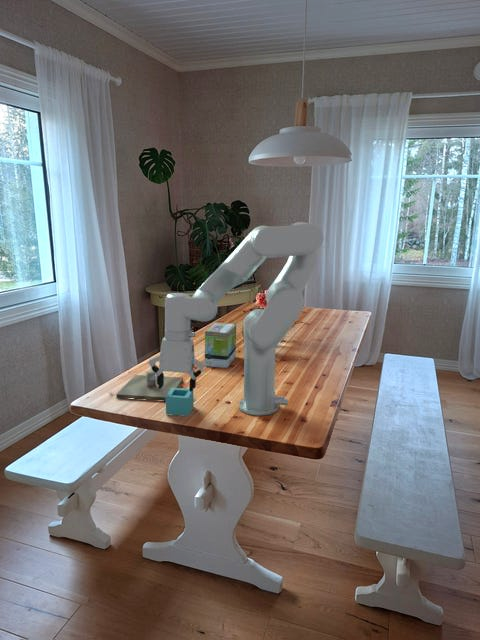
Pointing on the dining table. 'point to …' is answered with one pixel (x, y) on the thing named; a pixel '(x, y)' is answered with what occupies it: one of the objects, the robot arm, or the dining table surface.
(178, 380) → the post board
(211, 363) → the tea box
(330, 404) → the dining table surface
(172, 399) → the collar
